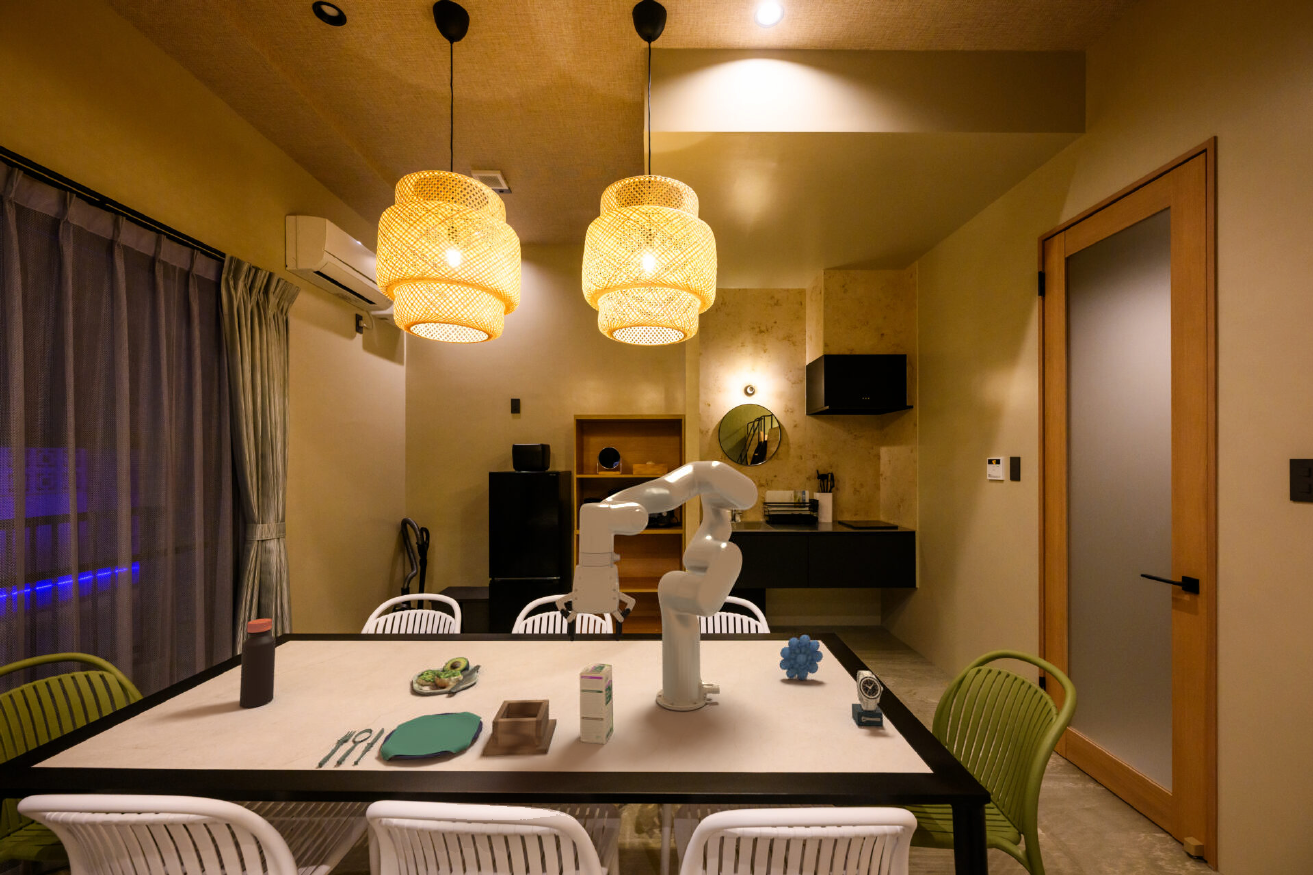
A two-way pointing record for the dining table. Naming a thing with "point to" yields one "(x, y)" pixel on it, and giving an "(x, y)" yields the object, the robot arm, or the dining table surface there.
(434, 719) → the cutlery set
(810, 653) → the blue knobbly flower shape
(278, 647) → the dining table surface
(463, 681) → the avocado toast plate
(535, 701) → the walnut holder
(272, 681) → the bottle
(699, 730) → the dining table surface
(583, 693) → the syrup box
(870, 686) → the watch
